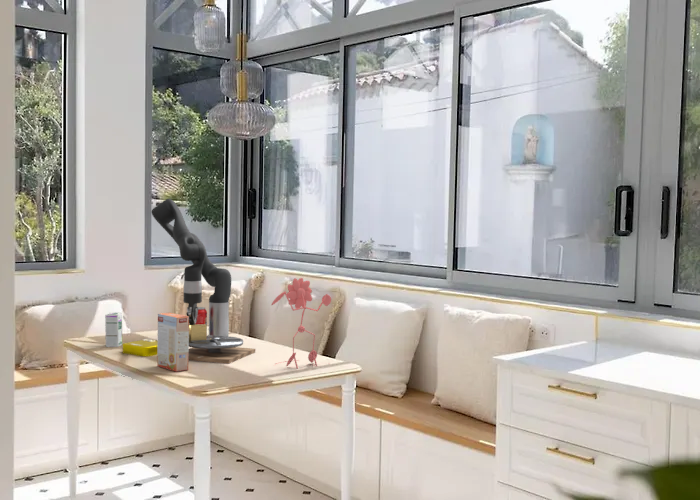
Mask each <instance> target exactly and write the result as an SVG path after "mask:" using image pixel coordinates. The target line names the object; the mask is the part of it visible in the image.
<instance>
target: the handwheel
mask: <svg viewBox="0 0 700 500" xmlns="http://www.w3.org/2000/svg"><path fill="white" fill-rule="evenodd" d="M207 331H208V324H207V325H206V324H198V325H189V347H190V348H192V347H193V348H202V349H224V348H233V347H241V346H242V345H244V340H243V338H240V337H236V336H230V335H229V336H212V335H209V334H208V332H207ZM206 334H208V335H207V336H206Z"/></svg>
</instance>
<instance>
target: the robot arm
mask: <svg viewBox="0 0 700 500" xmlns="http://www.w3.org/2000/svg"><path fill="white" fill-rule="evenodd" d="M151 215H152V217H153V218H154V220H155V221H156V222H157V223H158V224H159V225H160V226H161V227H162V229H163V230H164V231H166V232H167V234H168V235H169V236H170V237H171V239H173V241H174V242H175V244H176V245H177V246H178V247H179V256H180V258H181V259H182V260H183V261H185V262H191V263H192V265H188V266H186V267H185V268H184V271H183V272H184V275H183V277H184V278H183V303H184V304H188V306H187V307H186V314H185V315H186V316H189V325H195V323H196V321H197V315H198V307H199V306H198V304H201V303H202V302H203V301H202V300H203V297H202V295H203V285H202V284H203V283H202V277H203V279H204V281H205V282H206V283H207V284H208V286H210V287H213V288H214V292H213V294H211V295H210V296H209V297H208V335H212V336H229V337H230V334H229V333H230V332H229V331H230V330H229V328H230V327H229V323H230V322H229V321H230V317H229V310H230V309H229V307H230V306H229V305H230V298H231V293H232V275H231V272H230V271H229V270H228V269H226V268H222V267H221V268H220V267H217V266H215V265H214V263H213V262H211V260H210V259H209V256H208V253H207V249H206V247H205V245H204V243H203V242H202V241H201V239H200V238H199V237H198V236H197V235H196V234H195V233H193V232H191V231H190V229H189V228H188V226H187V223H186V221H185V217H184V216H183V214H182V212H181V210H180V208H179V206H178V205H177V203H176V202H175V201H173V199H172V198H167V199H165V200H163V201H162V202H161V203H159V204H158V205H156V206H155V207H154V208H152V209H151ZM171 222H173V225H172V224H171Z"/></svg>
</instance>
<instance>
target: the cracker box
mask: <svg viewBox="0 0 700 500" xmlns="http://www.w3.org/2000/svg"><path fill="white" fill-rule="evenodd" d="M157 341H158V350H157V355H156V356H157V357H156V359H157V364H156V365H157V367H159V368H163V369H167V370H170V371H172V372H176V373H177V372H184V371H188V370H189V360H188V353H189V352H188V351H189V349H190V348H189V316H187V315H184V314H178V313H173V312H161V313H157Z"/></svg>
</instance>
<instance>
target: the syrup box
mask: <svg viewBox="0 0 700 500" xmlns="http://www.w3.org/2000/svg"><path fill="white" fill-rule="evenodd" d="M104 317H105V320H104V321H105V325H104V326H105V328H104V329H105V347H107V348H119V347H120V346H123V313H122V312H109V313H106V314H105V316H104Z"/></svg>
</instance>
